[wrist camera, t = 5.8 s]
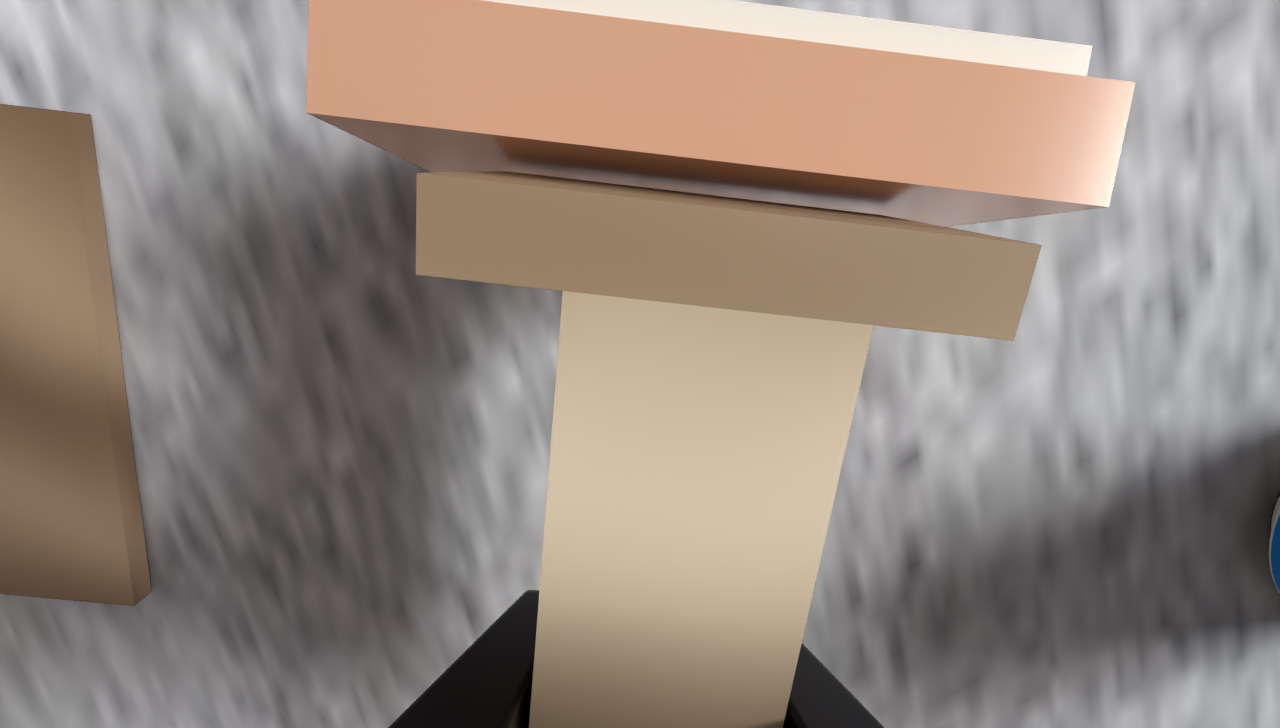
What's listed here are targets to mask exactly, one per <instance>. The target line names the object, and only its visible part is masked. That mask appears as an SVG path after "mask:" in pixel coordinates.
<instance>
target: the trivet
mask: <svg viewBox="0 0 1280 728" xmlns="http://www.w3.org/2000/svg"><path fill="white" fill-rule="evenodd" d="M150 592H151V583H150V576H149V568H148V560H147V552H146V544H145V536H144V528H143V521H142V513H141V505H140V497H139V489H138V481H137V473H136V465H135V458H134V450H133V442H132V434H131V426H130V418H129V410H128V403H127V395H126V387H125V379H124V371H123V363H122V355H121V347H120V340H119V332H118V324H117V316H116V308H115V300H114V292H113V285H112V277H111V269H110V261H109V253H108V245H107V237H106V229H105V222H104V214H103V206H102V198H101V190H100V182H99V174H98V167H97V159H96V151H95V143H94V135H93V127H92V119H91V115H90V114H82V113H73V112H65V111H56V110H47V109H39V108H30V107H22V106H13V105H5V104H0V594H7V595H19V596H30V597H41V598H52V599H63V600H74V601H85V602H96V603H107V604H118V605H130V606H135V605H136V604H137V603H139V602H140V601H141V600H142V599H143V598H144V597H146V596H147V595H148V594H149V593H150Z"/></svg>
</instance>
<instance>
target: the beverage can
mask: <svg viewBox="0 0 1280 728" xmlns="http://www.w3.org/2000/svg"><path fill="white" fill-rule="evenodd" d="M1269 563H1270V571H1271V574H1272V578H1273V581H1274V584H1275V586H1276V588H1277V590H1278V592H1279V594H1280V496H1279V498H1278V500H1277V503H1276V506H1275V508H1274V512H1273V516H1272V521H1271V536H1270V541H1269Z"/></svg>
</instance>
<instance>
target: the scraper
mask: <svg viewBox="0 0 1280 728" xmlns="http://www.w3.org/2000/svg"><path fill="white" fill-rule="evenodd" d="M1041 246H1042V245H1038V244H1032V243H1027V242H1022V241H1017V240H1011V239H1006V238H1001V237H995V236H990V235H985V234H980V233H974V232H969V231H964V230H959V229H953V228H948V227H943V226H937V225H932V224H927V223H922V222H916V221H911V220H906V219H901V218H895V217H890V216H885V215H878V214H869V213H861V212H852V211H843V210H835V209H826V208H818V207H809V206H801V205H792V204H783V203H775V202H766V201H758V200H749V199H740V198H732V197H723V196H715V195H706V194H698V193H689V192H680V191H672V190H663V189H655V188H646V187H638V186H629V185H620V184H612V183H603V182H595V181H586V180H578V179H569V178H560V177H552V176H543V175H535V174H526V173H518V172H509V171H488V172H431V173H417V181H416V275H423V276H432V277H441V278H450V279H459V280H468V281H477V282H486V283H495V284H504V285H513V286H522V287H531V288H540V289H549V290H559V291H563V294H562V307H561V320H560V333H559V346H558V359H557V371H556V384H555V397H554V410H553V423H552V436H551V449H550V462H549V475H548V487H547V500H546V513H545V526H544V539H543V552H542V565H541V578H540V590H539V603H538V616H537V629H536V642H535V655H534V668H533V681H532V694H531V706H530V719H529V728H783V724H784V719H785V715H786V710H787V706H788V702H789V697H790V693H791V688H792V684H793V679H794V675H795V671H796V666H797V662H798V657H799V653H800V649H801V644H802V640H803V635H804V631H805V626H806V622H807V618H808V613H809V609H810V604H811V600H812V595H813V591H814V587H815V582H816V578H817V573H818V569H819V564H820V560H821V556H822V551H823V547H824V542H825V538H826V534H827V529H828V525H829V520H830V516H831V511H832V507H833V503H834V498H835V494H836V489H837V485H838V480H839V476H840V472H841V467H842V463H843V458H844V454H845V449H846V445H847V441H848V436H849V432H850V427H851V423H852V419H853V414H854V410H855V405H856V401H857V396H858V392H859V388H860V383H861V379H862V374H863V370H864V365H865V361H866V357H867V352H868V348H869V343H870V339H871V334H872V330H873V326H874V325H875V326H884V327H893V328H902V329H912V330H921V331H930V332H939V333H948V334H957V335H966V336H975V337H984V338H993V339H1002V340H1011V341H1014V337H1015V334H1016V331H1017V327H1018V324H1019V320H1020V317H1021V314H1022V310H1023V307H1024V303H1025V300H1026V297H1027V293H1028V290H1029V286H1030V283H1031V280H1032V276H1033V273H1034V269H1035V266H1036V263H1037V259H1038V256H1039V252H1040V249H1041Z"/></svg>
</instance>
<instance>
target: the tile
mask: <svg viewBox="0 0 1280 728" xmlns="http://www.w3.org/2000/svg"><path fill="white" fill-rule="evenodd" d="M1092 47H1093V46H1089V45H1081V44H1073V43H1065V42H1057V41H1050V40H1042V39H1034V38H1026V37H1018V36H1010V35H1002V34H994V33H987V32H979V31H971V30H963V29H955V28H947V27H939V26H931V25H924V24H916V23H908V22H900V21H892V20H884V19H876V18H869V17H861V16H853V15H845V14H837V13H829V12H821V11H813V10H806V9H798V8H790V7H782V6H774V5H766V4H758V3H751V2H743V1H735V0H309V28H308V62H307V96H306V113H308V114H310V115H312V116H314V117H316V118H318V119H320V120H322V121H325V122H327V123H329V124H331V125H333V126H335V127H337V128H339V129H341V130H343V131H345V132H348V133H350V134H352V135H354V136H356V137H358V138H360V139H362V140H364V141H366V142H369V143H371V144H373V145H375V146H377V147H379V148H381V149H383V150H385V151H387V152H389V153H392V154H394V155H396V156H398V157H400V158H402V159H404V160H406V161H408V162H410V163H412V164H415V165H417V166H419V167H421V168H423V169H425V170H427V171H429V172H488V171H509V172H518V173H526V174H535V175H543V176H552V177H560V178H569V179H578V180H586V181H595V182H603V183H612V184H620V185H629V186H638V187H646V188H655V189H663V190H672V191H680V192H689V193H698V194H706V195H715V196H723V197H732V198H740V199H749V200H758V201H766V202H775V203H783V204H792V205H801V206H809V207H818V208H826V209H835V210H843V211H852V212H861V213H869V214H878V215H885V216H890V217H895V218H901V219H906V220H911V221H916V222H922V223H927V224H932V225H937V226H943V227H950V226H958V225H966V224H974V223H983V222H991V221H999V220H1007V219H1015V218H1023V217H1032V216H1040V215H1048V214H1056V213H1064V212H1072V211H1081V210H1089V209H1097V208H1105V207H1109V204H1110V199H1111V194H1112V190H1113V185H1114V180H1115V176H1116V171H1117V166H1118V162H1119V157H1120V152H1121V148H1122V143H1123V138H1124V134H1125V129H1126V124H1127V120H1128V115H1129V111H1130V106H1131V101H1132V97H1133V92H1134V87H1135V83H1136V82H1129V81H1121V80H1113V79H1105V78H1097V77H1089V76H1087V71H1088V66H1089V61H1090V56H1091V51H1092Z"/></svg>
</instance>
